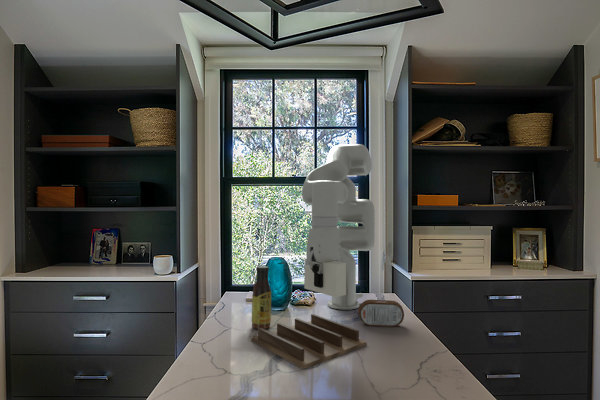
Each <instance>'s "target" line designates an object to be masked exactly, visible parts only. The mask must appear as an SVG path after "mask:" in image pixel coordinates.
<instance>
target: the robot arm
mask: <svg viewBox="0 0 600 400" xmlns="http://www.w3.org/2000/svg"><path fill="white" fill-rule="evenodd" d="M372 162H373V161H372V159H371V154H370V151H369V150H368V148H367V146H366V145H364V144H362V143H361V144H360V143H359V144H358V143H356V144H354V143H353V144H338V145H334V146H333V147H332V148H331V149H330V150H329V152H328V155H327V158H326V161H325V163H323V164H322V165H320V166H318V167H316V168H314V169H313V170H311V171H310V172H309V173H308V174H307V175H306V178H305V180H304V182H303V185H302V189H301V198H302V201H303V202H304V203H305V204H306V205H310V206H311V227H309V229H308V234H307V242H306V252H305V253H306V256H305V257H306V258H307V260H306V263H305V262H304V265H305V264H306V265H307V266H308V267H310V268H311V270H312V272H313V273H314V286H316V287H319V288H322V287H323V274H322V266H323V263H324V262H329V261H338V262H343V263H346V295H343V296H339V297H333V296H331V299H329V300H328V301H327V306H328V307H329V308H332V309H335V310H341V311H349V310H355V309H359V306H360V305H361V304H360V302H359V299H361V298H363V297H364V294H363V293H362V292H359V293H357V292H356V289H357V288H356V287H357V286H356V284H357V283H356V282H357V281H356V280H357V278H356V277H357V275H356V274H357V273H356V272H357V267H356V266H357V265H356V264H357V262H356V259H355V257H354V256H353V255H352V253H351V252H350V251H357V252H359V251H362V252H363V251H364V252H368V251H371V250H373V249H374V247H375V224H376V223H375V220H376V219H375V217H376V215H375V206H374V203H373V201H372V200H370V199H366V198H361V199H360V198H357V197H356V196H357V195H356V194H357V187H356V184H354V182H353V181H352V180H351V179H350V178H349V176H350V177H351V176H352V177H353V176H356V177H357V176H368V175H369V174H370V173H371V171H372V167H373V166H372ZM338 223H343V224H344V223H345V224H348V223H349V224H361V226H358V225H357V226H356V225H354V226H353V225H338ZM306 258H305V259H306ZM313 260H314V261H313ZM317 264H319V265H318V267H317Z"/></svg>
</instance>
